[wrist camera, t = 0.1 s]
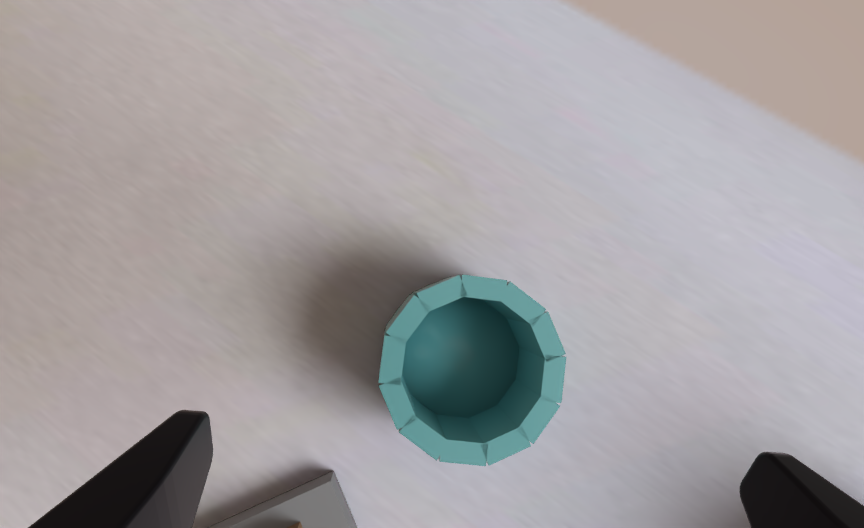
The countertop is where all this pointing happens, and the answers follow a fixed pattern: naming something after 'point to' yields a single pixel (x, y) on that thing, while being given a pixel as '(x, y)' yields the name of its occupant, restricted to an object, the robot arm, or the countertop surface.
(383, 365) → the ramekin
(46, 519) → the robot arm
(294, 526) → the walnut board
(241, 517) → the trivet
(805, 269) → the countertop surface
